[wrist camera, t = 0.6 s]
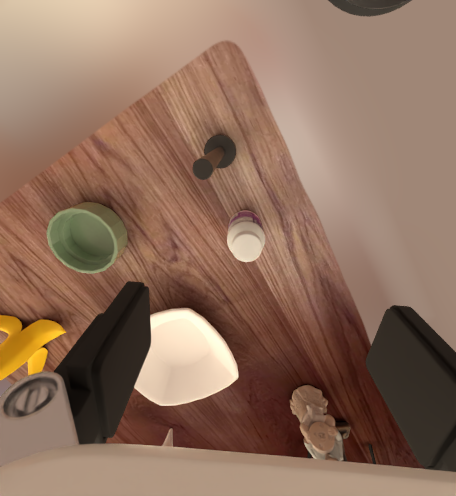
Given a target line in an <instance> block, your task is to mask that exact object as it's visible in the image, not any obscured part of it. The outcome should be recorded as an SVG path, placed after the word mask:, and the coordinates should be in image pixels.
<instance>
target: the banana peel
mask: <svg viewBox="0 0 456 496" xmlns="http://www.w3.org/2000/svg"><path fill="white" fill-rule="evenodd" d="M0 330H2V331H4V332H6V333H8V334H9V336H8V338H7V339H6V340H5V341H4V342H3V343H2V344H1V345H0V380H2V379H3V378H5V377H7V376H8V375H10V374H11V373H12V372H14V371H15V370H16V369H18V368H19V367H20V366H21V365H23V364H24V363H25V362H26V361H27V362H28V376H29V375H32V374H35V373H39V372H41V371H42V369H43V366H44V363H45V360H46V357H47V354H48V351H47V349H46V348H43V347H42V346H43V345H44V344H46V343H47V342H49V341H50V340H52V339H54V338H56V337H58V336H59V335H61V334H63V333H66V331H65V330H64V329H63V328H62V327H61V326H60V325H59V324H58V323H56V322H54V321H50V320H38V321H36V322H34V323H33V324H31V325H29V326H28V327H26V328H25V329H24V330H22V324H21V322H20V320H19V319H17V318H16V317H12V316H4V315H0ZM21 330H22V331H21Z"/></svg>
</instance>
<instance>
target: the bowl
mask: <svg viewBox="0 0 456 496" xmlns="http://www.w3.org/2000/svg"><path fill="white" fill-rule="evenodd" d="M150 324H151V346H150V349H149V352H148V354H147V356H146V359H145V361H144V364H143V366H142V369H141V371H140V374H139V376H138V378H137V381H136V383H135V386H134V388H135V389H136V390H138V391H139V392H140V393H141V394H143V395H144V396H145V397H146V398H148V399H149V400H151V401H153V402H155V403H156V404H158V405H160V406H170V405H179V404H184V403H188V402H192V401H195V400H199V399H202V398H205V397H207V396H210V395H212V394H214V393H217V392H219V391H221V390H222V389H224V388H226V387H228V386H229V385H230V384H232V383H233V382H234V381H235V380H237V379H238V368H237V364H236V361H235V359H234V357H233V354H232V352H231V351H230V349H229V347H228V345H227V344H226V342H225V340H224V339H223V338H222V337H221V335H220V334H219V333H218V332H217V331H216V329H215V328H214V327H213V326H212V325H211V324H210V323H209V322H208V321H207V320H206V319H205V318H204V317H202V316H201V315H199V314H198V313H196V312H195V311H193V310H192V309H190V308H177V309H169V310H165V311H161V312H157V313H154V314H152V315H150Z"/></svg>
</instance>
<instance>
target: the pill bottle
mask: <svg viewBox="0 0 456 496" xmlns="http://www.w3.org/2000/svg"><path fill="white" fill-rule="evenodd" d="M227 243H228V247H229V249H230V250H231V252H232V253H233V255H234V256H235V257H236V258H237V259H238V260H240V261H243V262H250V261H253V260H255V259H257V258H258V257H259V256H260V254H261V251H262V249H263V247H264V245H265V234H264V231H263V227H262V224H261V221H260V219H259V217H258V216H257V215H256V214H255V213H253V212H251V211H247V210H243V211H239V212H237V213H235V214H234V215H233V216H232V217H231V219H230V221H229V225H228V235H227Z"/></svg>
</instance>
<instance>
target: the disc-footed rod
mask: <svg viewBox="0 0 456 496" xmlns="http://www.w3.org/2000/svg"><path fill="white" fill-rule="evenodd" d="M204 154H205V155H204V156H203V157H201V158H200V159H198V160H197V161H195V163H194V164H193V173H194V175H195V176H196V177H197V178H198V179H201V180H205V179H208V178H209V177H210V176H211V175H212V173H213V172H214V170H215V169H216V168H225V167H228V166H229V165H230V164H231V163H232V162H233V161H234V159H235V155H236V148H235V144H234V142H233V141H232V140H231V139H230V138H229V137H227V136H225V135H215V136H213V137H211V138H210V139H209V140H208V141H207V143H206V145H205V149H204Z"/></svg>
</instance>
